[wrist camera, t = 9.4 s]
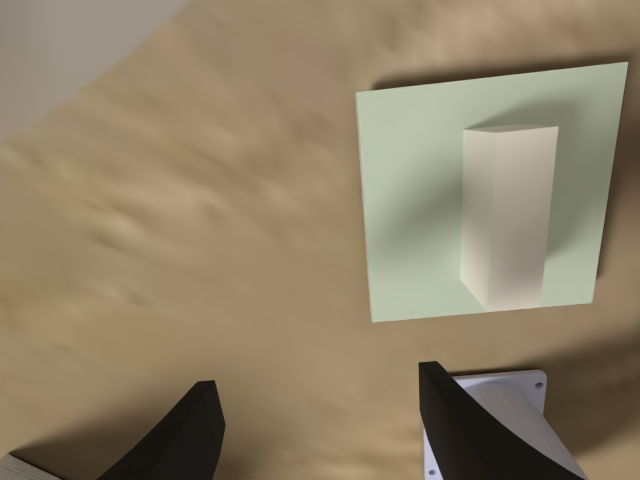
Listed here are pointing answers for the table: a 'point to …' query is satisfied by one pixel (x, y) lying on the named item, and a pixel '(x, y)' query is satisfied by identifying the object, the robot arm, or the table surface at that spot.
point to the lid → (487, 190)
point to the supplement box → (21, 470)
